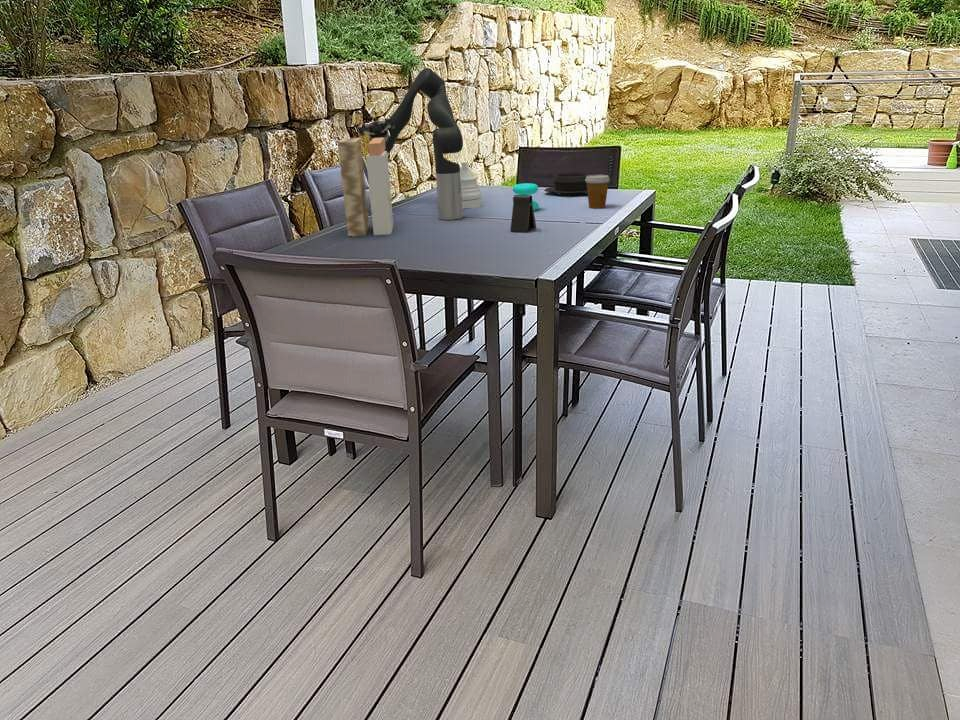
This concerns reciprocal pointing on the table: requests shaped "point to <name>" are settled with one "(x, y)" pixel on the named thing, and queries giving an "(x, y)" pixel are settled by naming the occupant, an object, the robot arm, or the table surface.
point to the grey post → (380, 194)
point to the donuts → (527, 191)
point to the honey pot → (469, 188)
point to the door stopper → (522, 214)
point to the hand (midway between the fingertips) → (375, 123)
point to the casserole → (569, 184)
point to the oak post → (353, 186)
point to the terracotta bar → (376, 146)
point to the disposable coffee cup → (597, 190)
